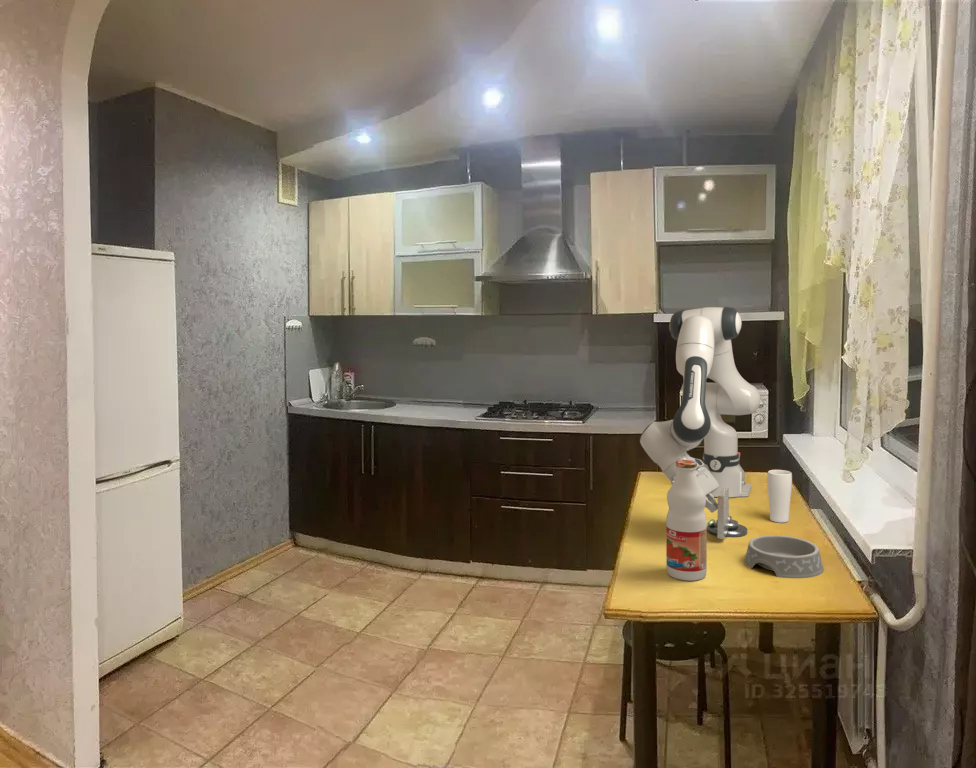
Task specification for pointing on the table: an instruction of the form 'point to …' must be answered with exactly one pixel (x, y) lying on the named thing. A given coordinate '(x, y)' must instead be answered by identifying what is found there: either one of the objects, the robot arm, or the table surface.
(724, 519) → the upright slab
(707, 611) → the table surface
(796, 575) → the dog bowl
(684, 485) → the white plastic bottle
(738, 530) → the base
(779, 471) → the drinking glass
